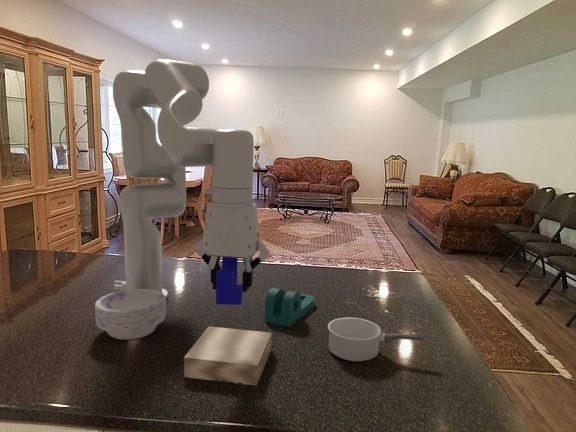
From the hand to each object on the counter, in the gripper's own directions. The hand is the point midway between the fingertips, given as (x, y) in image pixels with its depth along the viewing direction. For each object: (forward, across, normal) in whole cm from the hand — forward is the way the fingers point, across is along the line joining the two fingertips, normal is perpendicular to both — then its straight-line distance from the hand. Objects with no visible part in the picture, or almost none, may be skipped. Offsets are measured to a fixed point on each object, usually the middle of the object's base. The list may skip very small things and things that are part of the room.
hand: (231, 287), depth 86 cm
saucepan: (+16, +29, +10) cm, 34 cm away
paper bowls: (+16, -26, +9) cm, 32 cm away
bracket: (+16, +8, +29) cm, 34 cm away
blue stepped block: (+1, 0, 0) cm, 1 cm away
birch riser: (+16, 0, 0) cm, 16 cm away
